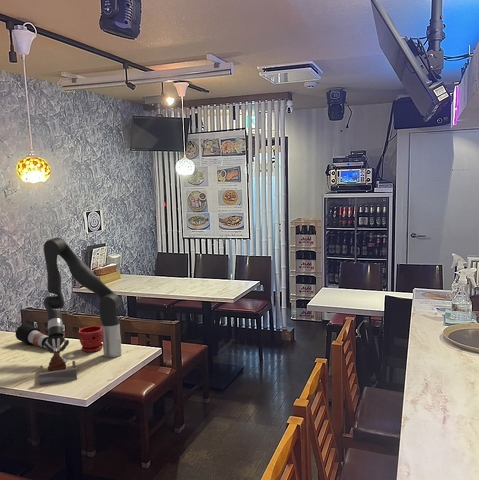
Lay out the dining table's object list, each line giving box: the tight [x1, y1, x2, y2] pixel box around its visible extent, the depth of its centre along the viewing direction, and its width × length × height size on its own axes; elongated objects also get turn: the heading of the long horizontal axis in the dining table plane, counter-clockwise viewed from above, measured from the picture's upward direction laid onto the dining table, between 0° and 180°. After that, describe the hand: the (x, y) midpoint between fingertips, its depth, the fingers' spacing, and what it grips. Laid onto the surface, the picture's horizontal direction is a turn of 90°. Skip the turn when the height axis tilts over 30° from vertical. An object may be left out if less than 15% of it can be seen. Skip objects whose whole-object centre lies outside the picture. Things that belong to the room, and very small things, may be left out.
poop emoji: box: [47, 352, 68, 372], centre depth 236 cm, size 10×8×9 cm
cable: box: [15, 323, 62, 350], centre depth 272 cm, size 10×34×10 cm, turn 56°
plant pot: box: [78, 325, 103, 353], centre depth 265 cm, size 13×13×12 cm
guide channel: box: [38, 360, 78, 386], centre depth 230 cm, size 20×16×5 cm
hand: (57, 359), depth 240 cm, fingers closed
